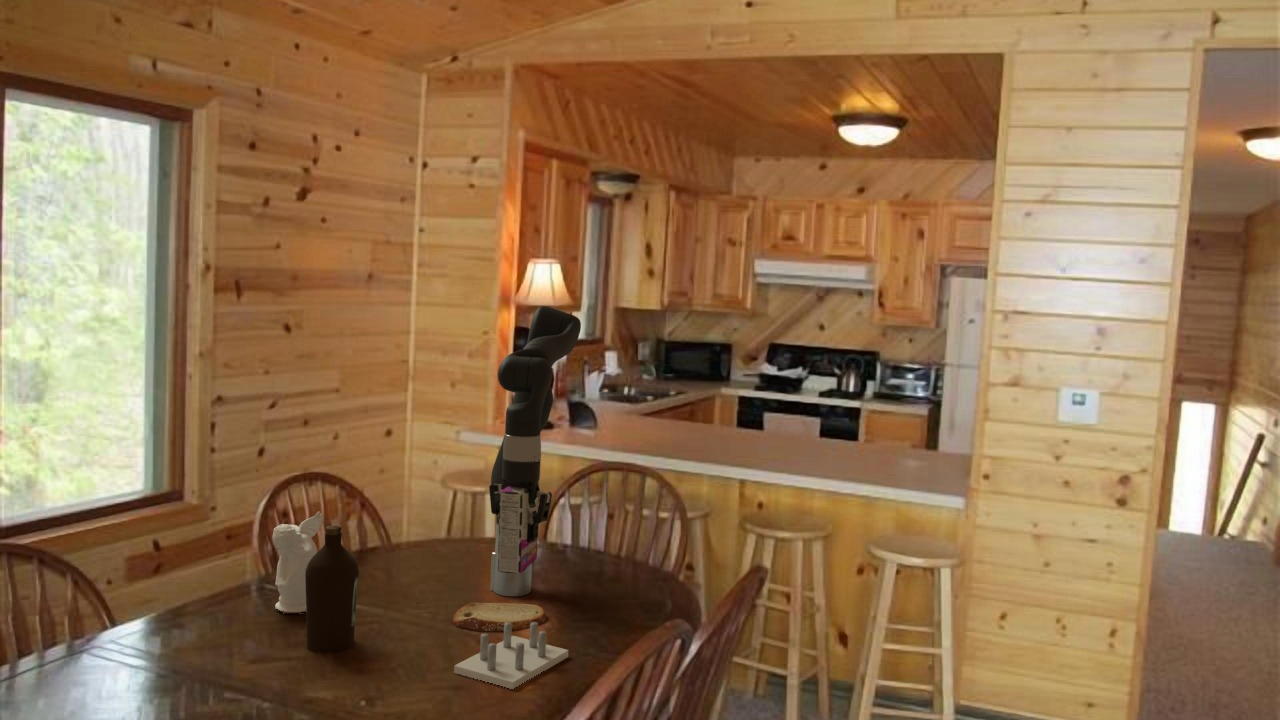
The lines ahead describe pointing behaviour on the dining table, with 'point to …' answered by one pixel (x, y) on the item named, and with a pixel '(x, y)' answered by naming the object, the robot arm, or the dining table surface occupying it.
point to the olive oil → (331, 595)
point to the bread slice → (497, 616)
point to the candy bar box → (514, 531)
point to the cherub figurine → (294, 561)
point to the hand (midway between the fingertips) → (518, 538)
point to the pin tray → (511, 658)
